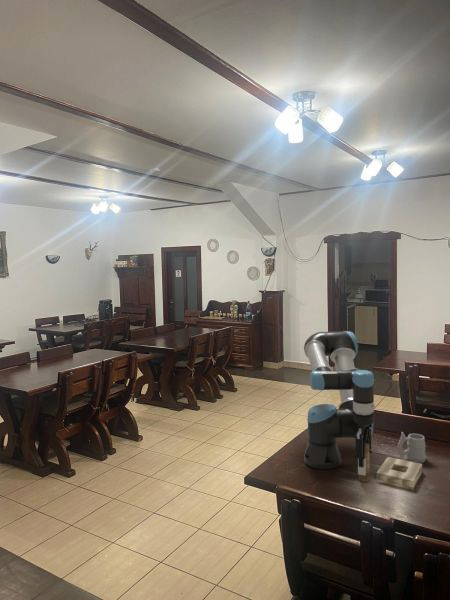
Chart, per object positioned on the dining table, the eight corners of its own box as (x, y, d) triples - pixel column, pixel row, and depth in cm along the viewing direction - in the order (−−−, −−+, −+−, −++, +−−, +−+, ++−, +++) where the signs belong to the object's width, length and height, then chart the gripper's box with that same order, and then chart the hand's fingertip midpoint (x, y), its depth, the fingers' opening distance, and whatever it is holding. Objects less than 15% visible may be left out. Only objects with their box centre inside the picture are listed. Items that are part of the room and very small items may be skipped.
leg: (356, 480, 172) (356, 444, 171) (360, 476, 176) (359, 441, 174) (367, 483, 170) (367, 447, 169) (370, 478, 173) (370, 443, 172)
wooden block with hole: (376, 481, 171) (376, 472, 171) (387, 465, 184) (387, 456, 184) (413, 490, 164) (413, 481, 164) (422, 472, 177) (422, 463, 177)
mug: (430, 462, 185) (430, 434, 184) (402, 464, 184) (402, 436, 183) (420, 454, 193) (420, 427, 192) (393, 456, 192) (393, 429, 191)
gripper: (366, 420, 161) (366, 483, 163) (379, 407, 175) (380, 465, 177) (345, 417, 166) (346, 478, 168) (360, 404, 180) (361, 461, 182)
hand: (363, 471), depth 173 cm, fingers closed on leg, 4 cm apart
